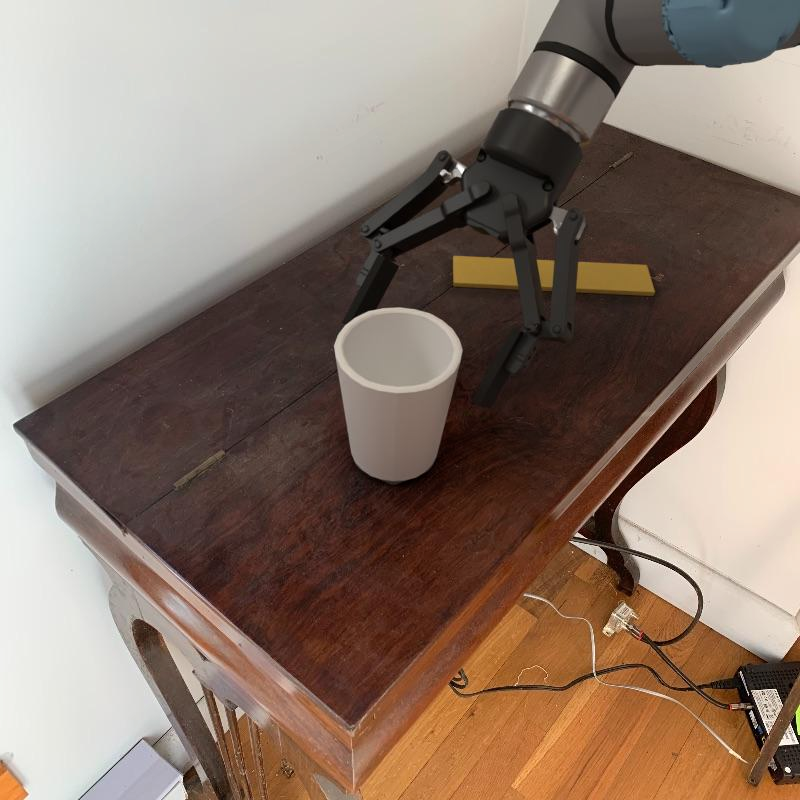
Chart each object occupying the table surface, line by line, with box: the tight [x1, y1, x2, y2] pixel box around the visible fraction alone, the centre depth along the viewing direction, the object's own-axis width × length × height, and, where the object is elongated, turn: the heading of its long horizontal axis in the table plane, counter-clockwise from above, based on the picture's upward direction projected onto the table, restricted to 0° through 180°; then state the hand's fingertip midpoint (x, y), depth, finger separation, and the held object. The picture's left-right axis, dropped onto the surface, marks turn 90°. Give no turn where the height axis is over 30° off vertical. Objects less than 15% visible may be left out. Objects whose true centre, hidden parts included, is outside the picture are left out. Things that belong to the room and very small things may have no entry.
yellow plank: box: [452, 255, 656, 297], centre depth 89 cm, size 22×5×1 cm, turn 88°
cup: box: [333, 306, 464, 486], centre depth 66 cm, size 10×10×13 cm
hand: (413, 365), depth 66 cm, fingers open, 13 cm apart
